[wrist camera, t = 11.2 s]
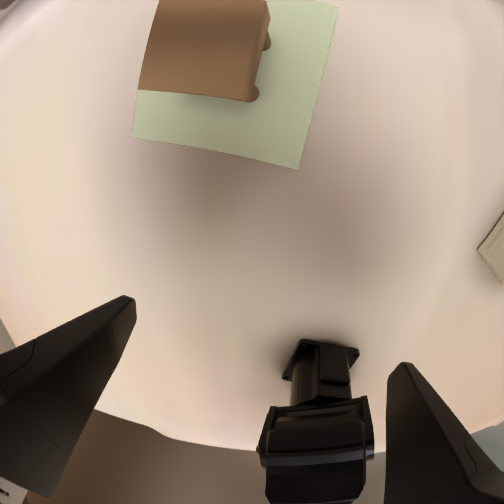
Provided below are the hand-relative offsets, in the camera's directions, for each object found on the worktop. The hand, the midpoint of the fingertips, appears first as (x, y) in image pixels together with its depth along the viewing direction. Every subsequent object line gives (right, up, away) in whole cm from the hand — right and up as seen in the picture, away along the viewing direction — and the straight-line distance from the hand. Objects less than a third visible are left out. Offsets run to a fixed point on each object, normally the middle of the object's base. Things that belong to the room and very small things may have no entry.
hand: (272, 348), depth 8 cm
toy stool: (-2, +15, +6) cm, 16 cm away
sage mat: (-2, +15, +7) cm, 17 cm away
